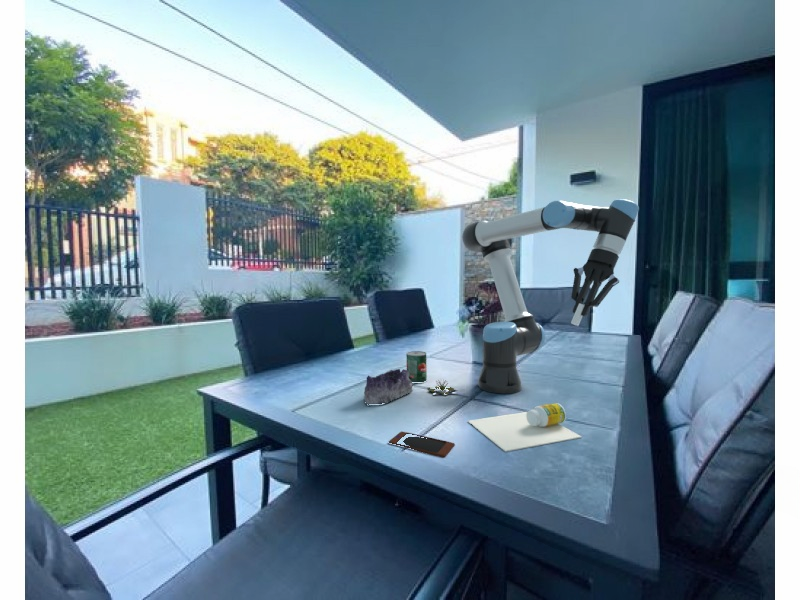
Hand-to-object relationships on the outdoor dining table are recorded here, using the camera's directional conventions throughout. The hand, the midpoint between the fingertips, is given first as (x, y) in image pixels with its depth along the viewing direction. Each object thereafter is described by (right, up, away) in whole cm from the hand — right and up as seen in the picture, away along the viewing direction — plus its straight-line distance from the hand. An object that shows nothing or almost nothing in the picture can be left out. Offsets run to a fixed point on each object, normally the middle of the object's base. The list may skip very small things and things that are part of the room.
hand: (574, 324), depth 107 cm
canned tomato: (-47, -24, +31) cm, 61 cm away
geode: (-57, -26, +12) cm, 64 cm away
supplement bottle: (-9, -23, -11) cm, 27 cm away
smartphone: (-48, -28, -21) cm, 60 cm away
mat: (-21, -27, -14) cm, 37 cm away
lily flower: (-38, -26, +18) cm, 49 cm away
